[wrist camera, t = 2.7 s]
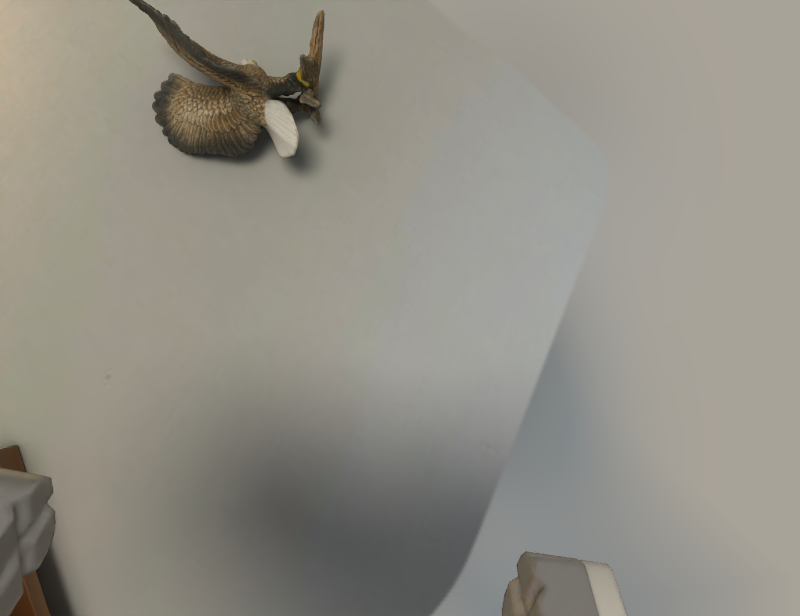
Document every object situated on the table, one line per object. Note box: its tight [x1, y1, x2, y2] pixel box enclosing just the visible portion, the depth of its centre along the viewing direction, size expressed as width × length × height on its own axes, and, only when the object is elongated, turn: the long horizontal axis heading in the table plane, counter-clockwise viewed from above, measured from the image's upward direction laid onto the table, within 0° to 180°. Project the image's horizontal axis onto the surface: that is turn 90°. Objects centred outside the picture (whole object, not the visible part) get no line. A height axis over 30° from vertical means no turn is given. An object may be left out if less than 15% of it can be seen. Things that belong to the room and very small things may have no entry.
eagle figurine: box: [129, 0, 324, 158], centre depth 31 cm, size 8×7×9 cm
